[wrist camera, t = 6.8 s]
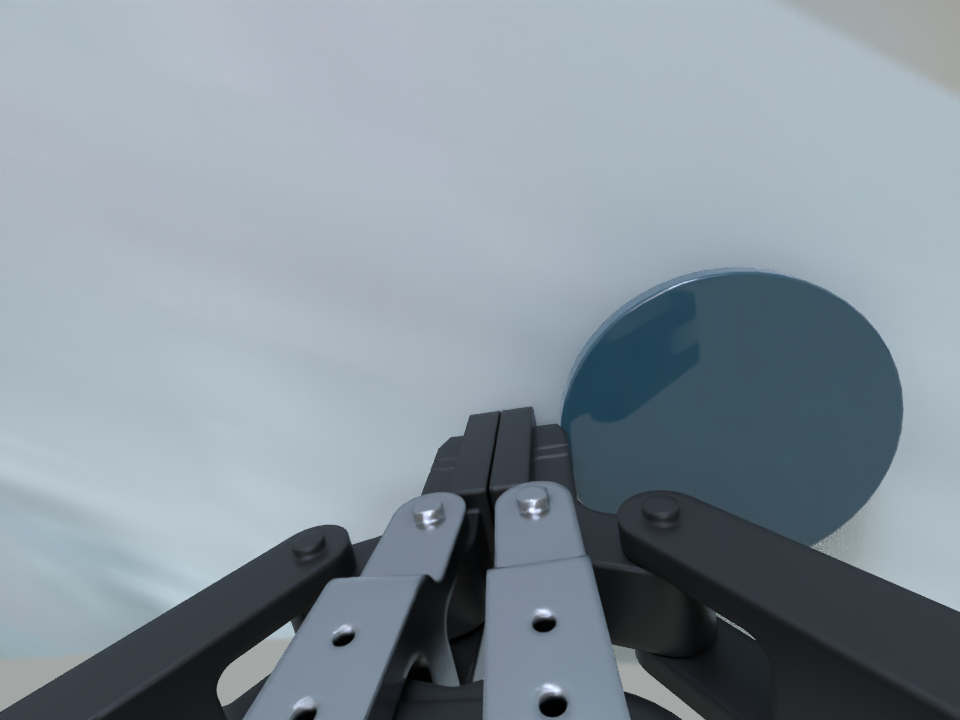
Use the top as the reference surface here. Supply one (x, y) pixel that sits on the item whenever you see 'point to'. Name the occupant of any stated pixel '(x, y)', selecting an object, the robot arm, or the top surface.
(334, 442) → the top surface
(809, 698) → the robot arm
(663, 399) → the plate
